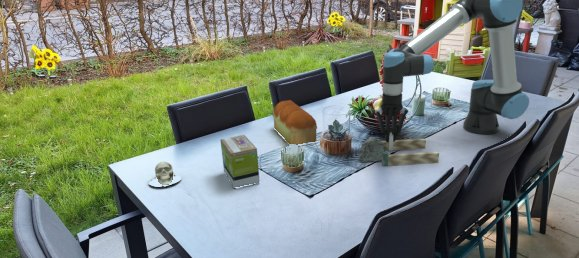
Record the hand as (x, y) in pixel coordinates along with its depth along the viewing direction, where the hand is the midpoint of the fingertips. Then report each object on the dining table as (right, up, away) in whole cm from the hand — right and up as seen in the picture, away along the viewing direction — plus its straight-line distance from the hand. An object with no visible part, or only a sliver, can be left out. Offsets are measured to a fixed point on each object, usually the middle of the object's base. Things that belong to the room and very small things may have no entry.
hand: (389, 148), depth 171 cm
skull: (-88, -12, -11) cm, 89 cm away
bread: (-38, +4, +27) cm, 47 cm away
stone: (-7, -4, +1) cm, 8 cm away
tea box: (-59, -11, -11) cm, 61 cm away
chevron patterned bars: (+6, -3, +1) cm, 7 cm away
